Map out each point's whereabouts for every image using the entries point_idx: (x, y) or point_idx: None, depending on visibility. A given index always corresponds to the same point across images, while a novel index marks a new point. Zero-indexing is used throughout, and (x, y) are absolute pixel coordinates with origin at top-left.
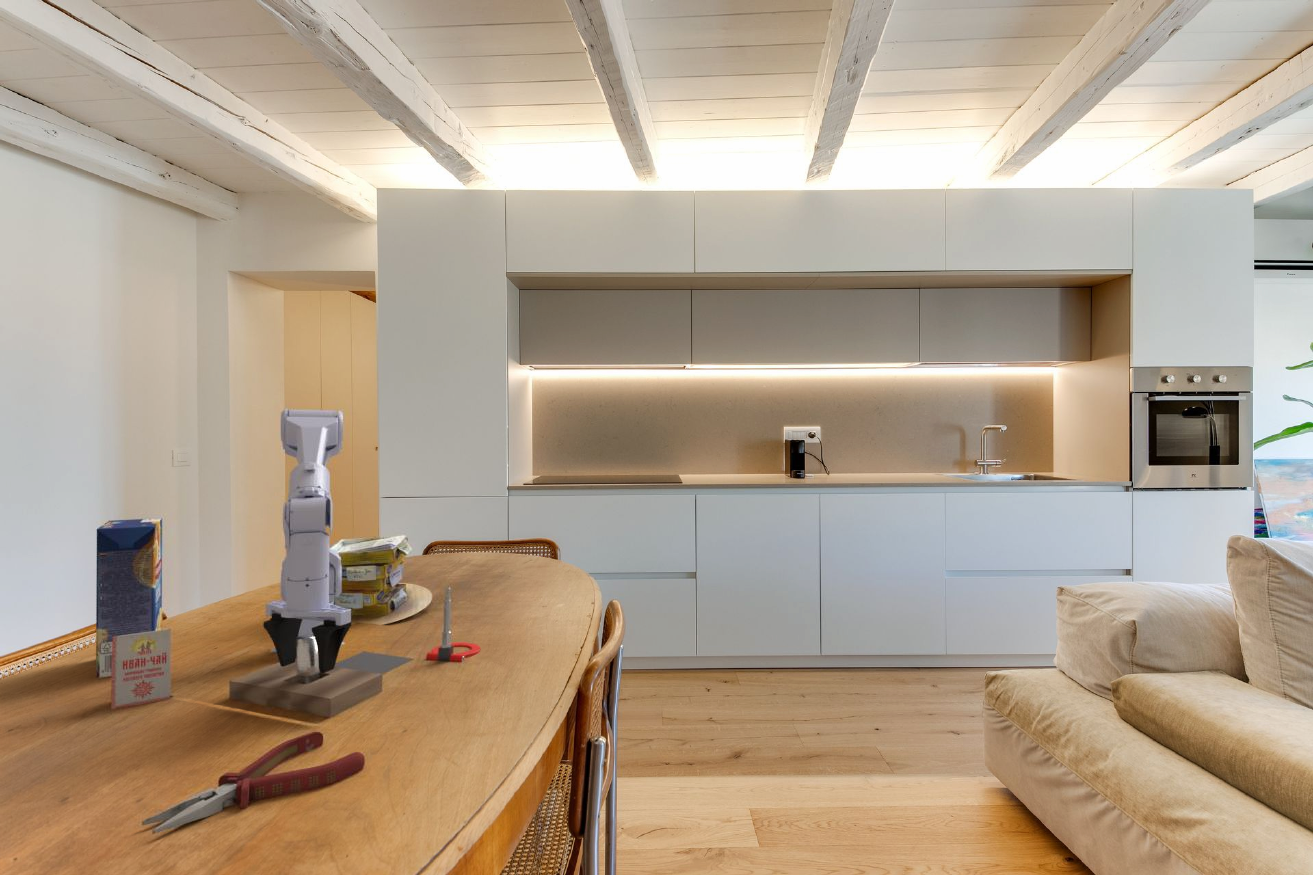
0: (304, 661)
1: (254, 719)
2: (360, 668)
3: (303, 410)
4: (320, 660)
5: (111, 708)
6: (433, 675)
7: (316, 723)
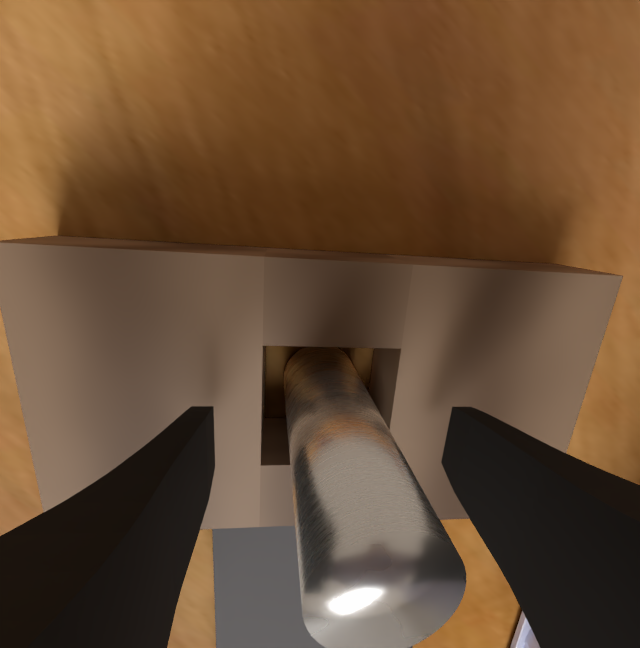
0: (322, 430)
1: (350, 156)
2: None
3: None
4: (174, 435)
5: None
6: None
7: (84, 195)
